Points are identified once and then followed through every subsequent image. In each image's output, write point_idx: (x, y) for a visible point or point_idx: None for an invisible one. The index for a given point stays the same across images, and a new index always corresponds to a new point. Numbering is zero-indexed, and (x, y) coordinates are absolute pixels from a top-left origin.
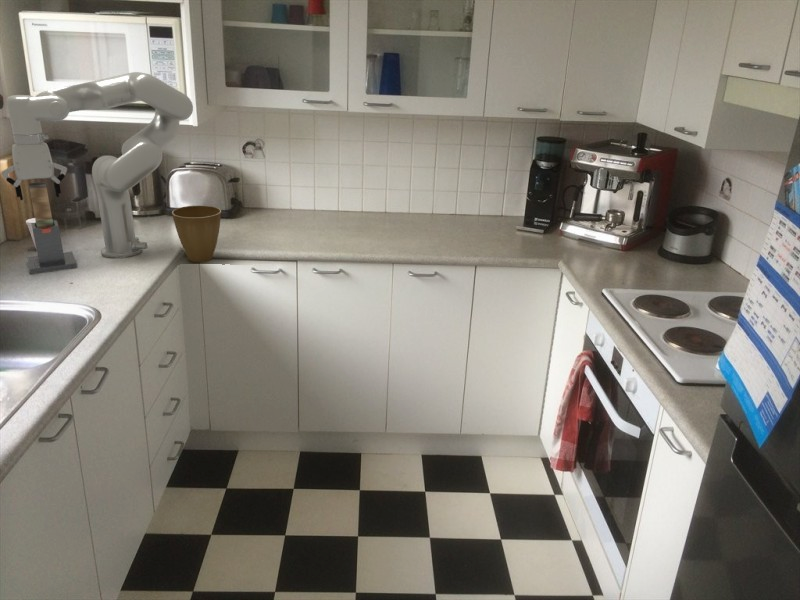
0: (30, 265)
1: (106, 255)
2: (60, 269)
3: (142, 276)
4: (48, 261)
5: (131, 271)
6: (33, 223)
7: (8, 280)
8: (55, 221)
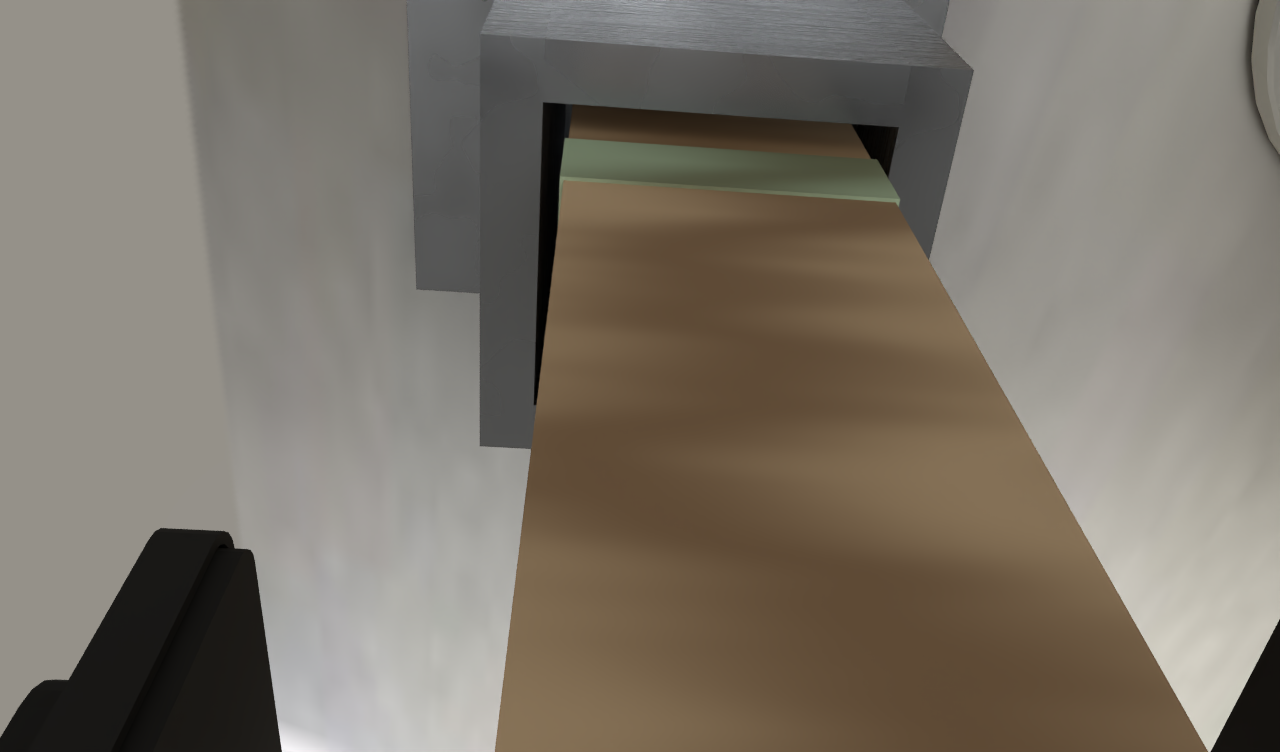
0: (433, 159)
1: (1267, 118)
2: None
3: (1202, 708)
4: None
5: (1203, 587)
6: (519, 108)
7: (235, 343)
8: (925, 158)
